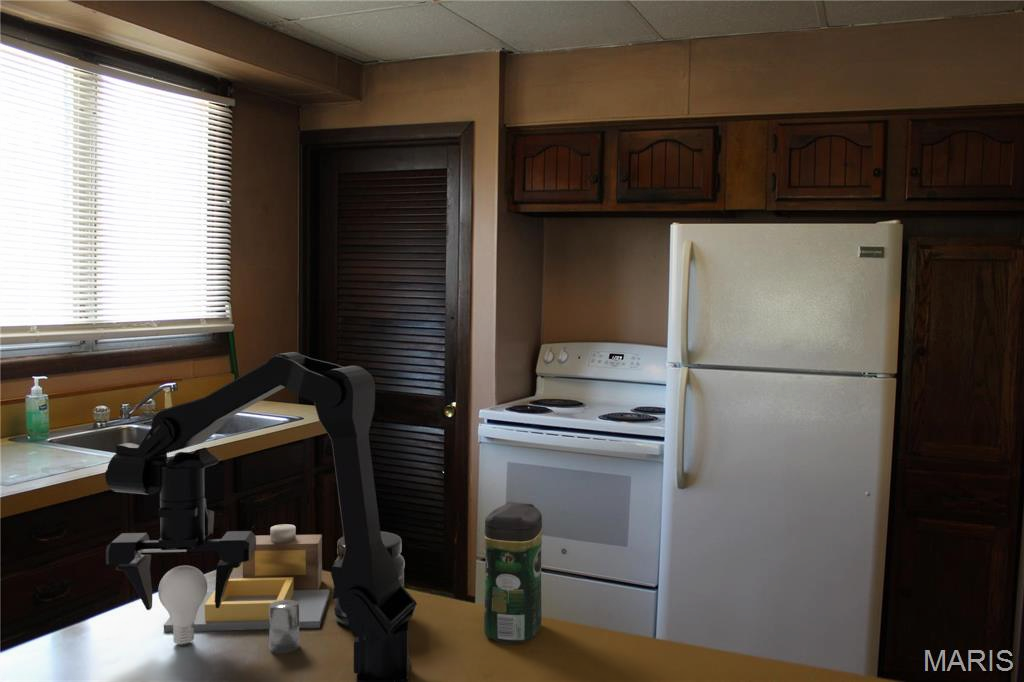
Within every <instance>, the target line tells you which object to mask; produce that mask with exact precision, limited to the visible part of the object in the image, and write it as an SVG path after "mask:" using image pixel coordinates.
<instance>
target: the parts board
mask: <svg viewBox="0 0 1024 682" xmlns="http://www.w3.org/2000/svg"><path fill="white" fill-rule="evenodd" d="M329 598H330V589H319V590H294V577H282V578H243V577H242V578H241V577H239V578H229V580H228V583H227V587H226V590H225V593H224V596H223V599H222V602H221V605H220V607H219V608H216V605H215V589H214V591H211V592H210V591H207V594H206V596H205V599H204V600H203V602H202V604H201V605H200V607H199V608H198V610H197V614H196V619H195V621H194V627H193V628H194V632H211V631H213V632H214V631H215V632H216V631H247V630H249V631H251V630H269V605H270V604H271V603H273V602H276V601H280V600H294V601H297V602H298V603H299V629H319V628H321V623H322V621H323V618H324V614H325V612H326V608H327V604H328V602H329ZM327 601H328V602H327ZM163 632H164V633H173V632H174V631H173V624H172V622H171V619H170V617H169V618H168V619H167V620H166V621H165V622H164V624H163Z"/></svg>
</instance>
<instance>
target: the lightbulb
mask: <svg viewBox="0 0 1024 682" xmlns="http://www.w3.org/2000/svg"><path fill="white" fill-rule="evenodd" d="M206 578H207V577H206V576H205V574H204V573H203V572H202V571H201V570H200V569H199V568H197V567H195V566H192V565H177V566H175V567H173V568H171V569H170V570H168V571H167V572H166V573H165V574H164V575H163V577H162V578H161V580H160V581H159V585H158V590H157V591H158V592H157V594H158V599H159V601H160V603H161V605H162V606H163V608H164V609H165V610H166V611H167V613H168V616H169V618H170V619H171V622H172V624H173V631H174V632H172V634H173V639H172V640H173V643H174V644H177V645H179V646H186V645H188V644H189V643H190V644H191V642H193V640H194V639H195V631H194V628H193V627H194V621H195V619H196V614H197V610H198V608H199V607H200V605H201V604H202V602H203V600H204V599H205V596H206V594H207V592H208V582H207V579H206Z"/></svg>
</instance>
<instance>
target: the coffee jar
mask: <svg viewBox="0 0 1024 682" xmlns="http://www.w3.org/2000/svg"><path fill="white" fill-rule="evenodd" d="M483 538H484V552H485V553H484V554H485V571H484V573H485V574H484V575H485V577H484V578H485V579H484V610H483V611H484V613H483V618H484V619H483V632H484V635H485V636H486V637H487V638H489V639H492V640H494V641H497V642H499V643H502V644H511V645H512V644H515V643H516V644H518V643H527V642H530V641H532V640H533V638H534V637H536V635H537V634H538V632H539V630H540V628H541V625H542V615H543V614H542V544H543V543H542V538H543V518H542V513H541V511H540V510H539V509H538V508H537V507H535V506H534V505H533V504H532V503H526V502H511V501H508V502H506V503H505V504H503V505H501V506H499V507H497V508H495V509H494V510H492V511H491V512H490V513H489V514H487V516H486V517H485V519H484V537H483Z"/></svg>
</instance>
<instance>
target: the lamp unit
mask: <svg viewBox="0 0 1024 682" xmlns="http://www.w3.org/2000/svg"><path fill="white" fill-rule="evenodd" d="M296 527H297V526H295V525H294V524H287V523H285V524H284V523H282V524H276V525H273V526H271V527H270V530H269V531H270V534H269V535H268V534H267V535H255V536H256V550H255V552H254V553H253V555H252V556H251V558H250V560H249V561H245V562H242V578H282V577H294V590H320V587H321V585H322V582H323V534H296V532H297V531H296V529H297V528H296Z"/></svg>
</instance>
